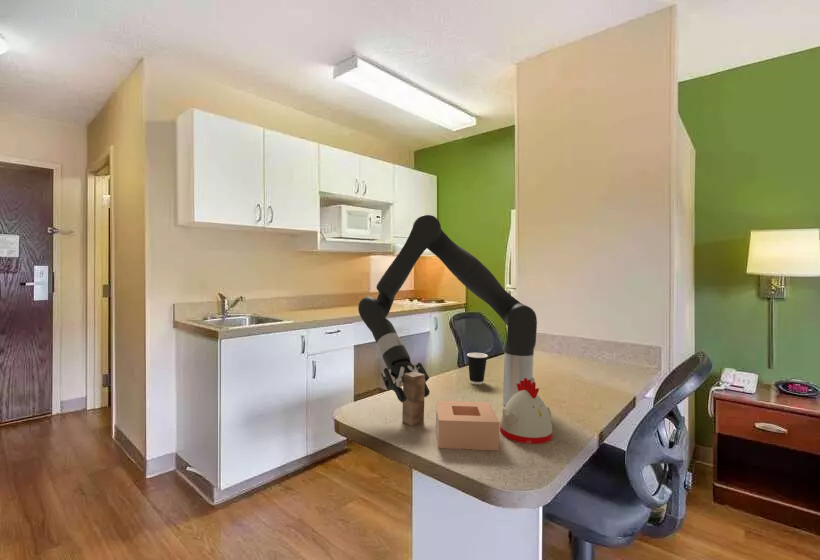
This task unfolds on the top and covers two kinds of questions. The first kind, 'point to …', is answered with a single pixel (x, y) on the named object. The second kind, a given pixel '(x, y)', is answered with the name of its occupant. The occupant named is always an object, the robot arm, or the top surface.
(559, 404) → the top surface
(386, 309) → the robot arm
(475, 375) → the dixie cup
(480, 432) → the terracotta well block
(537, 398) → the kitchen timer
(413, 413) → the walnut bar
